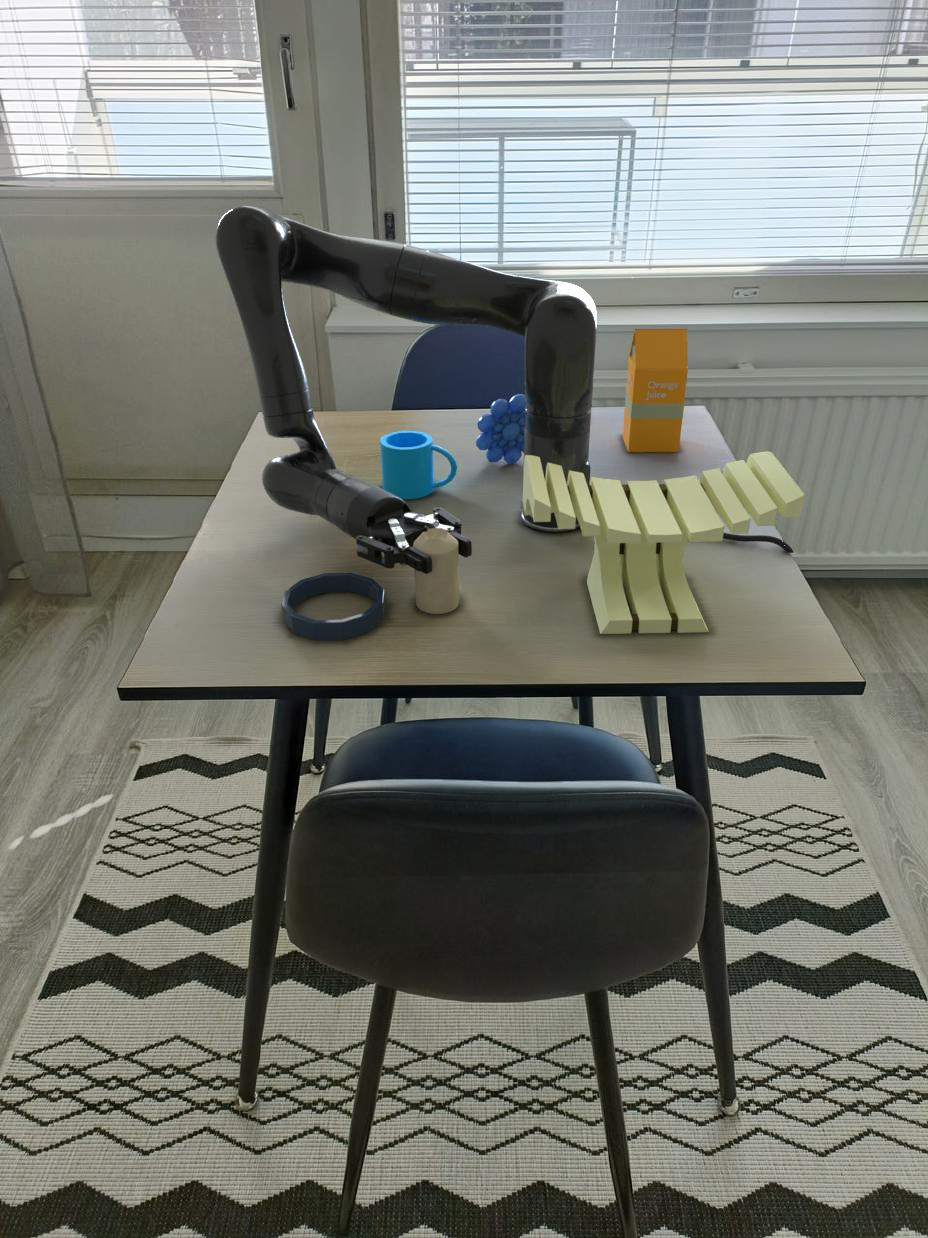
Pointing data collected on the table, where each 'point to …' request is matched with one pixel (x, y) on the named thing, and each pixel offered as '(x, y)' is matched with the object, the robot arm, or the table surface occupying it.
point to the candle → (438, 572)
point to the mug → (411, 464)
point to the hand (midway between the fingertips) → (449, 557)
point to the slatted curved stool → (656, 531)
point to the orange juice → (655, 390)
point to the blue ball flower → (503, 430)
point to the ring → (333, 627)
